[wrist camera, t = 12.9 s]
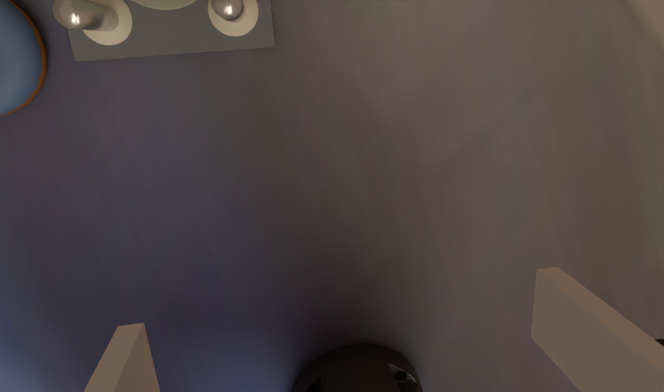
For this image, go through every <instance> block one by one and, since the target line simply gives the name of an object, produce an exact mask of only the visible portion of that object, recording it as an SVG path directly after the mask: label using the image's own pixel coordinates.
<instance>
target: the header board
mask: <svg viewBox="0 0 664 392" xmlns="http://www.w3.org/2000/svg"><path fill="white" fill-rule="evenodd" d="M90 1H93V2H97V3H101V4H105V5H108V6H110V7H112V8H113V9H114V10H115V11H116V13H117V15H118V18H119V22H118V26H117V27H116V28H115V29H114V30H113V31H110V32H102V31H92V30H81V29H70V28H67V31H68V35H69V39H70V44H71V48H72V52H73V56H74V60H75V62H79V61H93V60H106V59H120V58H134V57H147V56H161V55H175V54H188V53H202V52H216V51H230V50H243V49H257V48H271V47H275V40H274V30H273V20H272V11H271V1H270V0H242V1H243V3H244V5H245V8H246V14H245V17H244V19H243V20H242V21H241V22H239V23H230V22H228V21H226V20H224V19H223V18H221V17H220V16H219V15H217V14H216V13H215V12H214V10H213V8H212V5H211V0H197V1H195V2H193V3H192V4H190V5H188V6H185V7H182V8H179V9H173V10H158V9H152V8H148V7H145V6H142V5H140V4H138V3H136V2H134V1H131V0H90Z"/></svg>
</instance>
